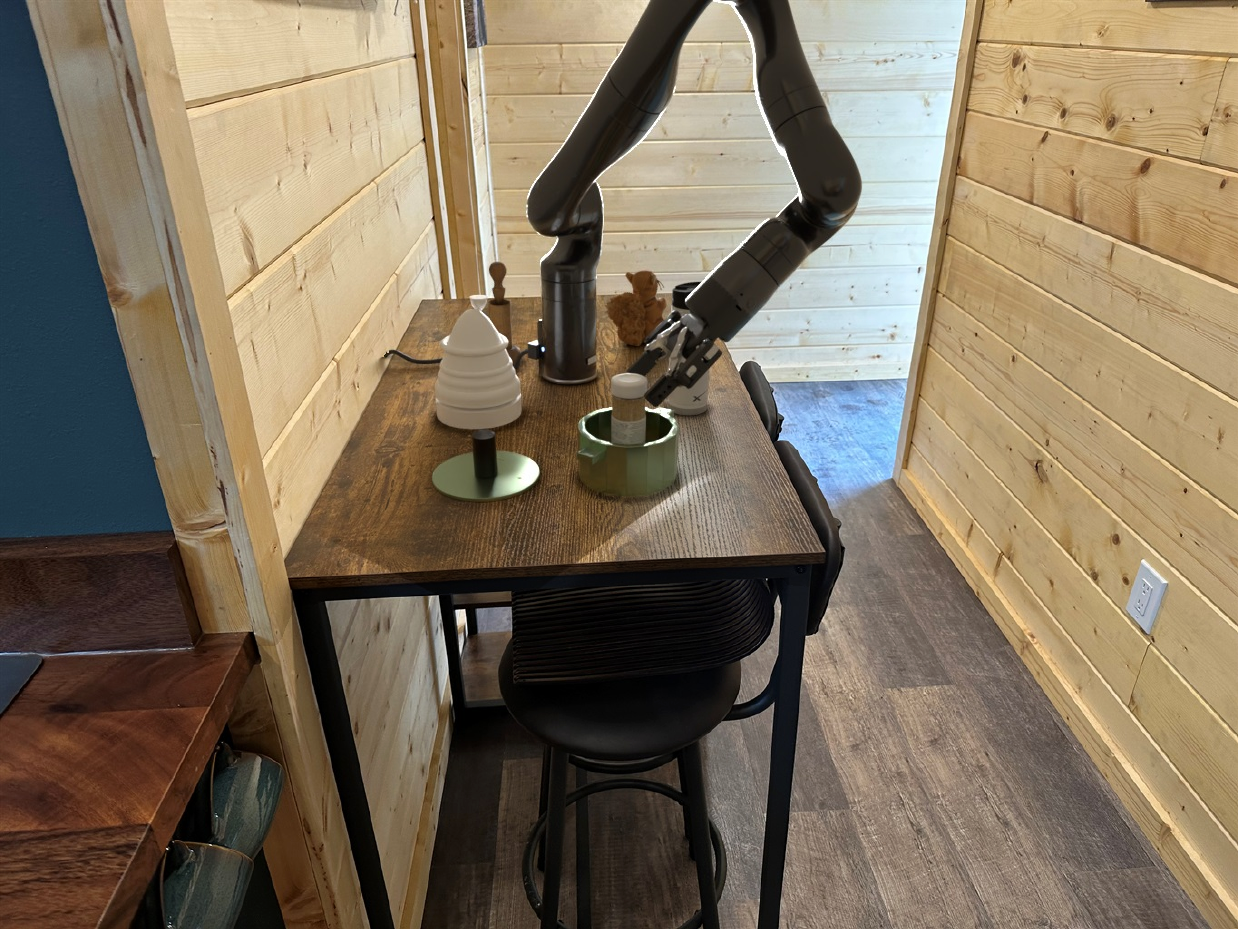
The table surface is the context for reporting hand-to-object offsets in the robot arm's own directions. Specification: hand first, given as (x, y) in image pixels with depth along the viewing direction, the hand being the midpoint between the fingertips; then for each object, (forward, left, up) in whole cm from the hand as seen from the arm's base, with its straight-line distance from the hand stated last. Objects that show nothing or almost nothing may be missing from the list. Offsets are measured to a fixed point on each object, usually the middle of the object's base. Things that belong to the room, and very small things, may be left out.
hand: (639, 389), depth 104 cm
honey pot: (-31, +2, -12) cm, 33 cm away
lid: (-15, -13, -12) cm, 23 cm away
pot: (-1, -1, -12) cm, 12 cm away
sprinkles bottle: (-1, -1, -12) cm, 12 cm away
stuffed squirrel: (-33, +48, -12) cm, 59 cm away
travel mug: (-7, +24, -12) cm, 28 cm away
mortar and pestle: (-45, +22, -12) cm, 51 cm away
